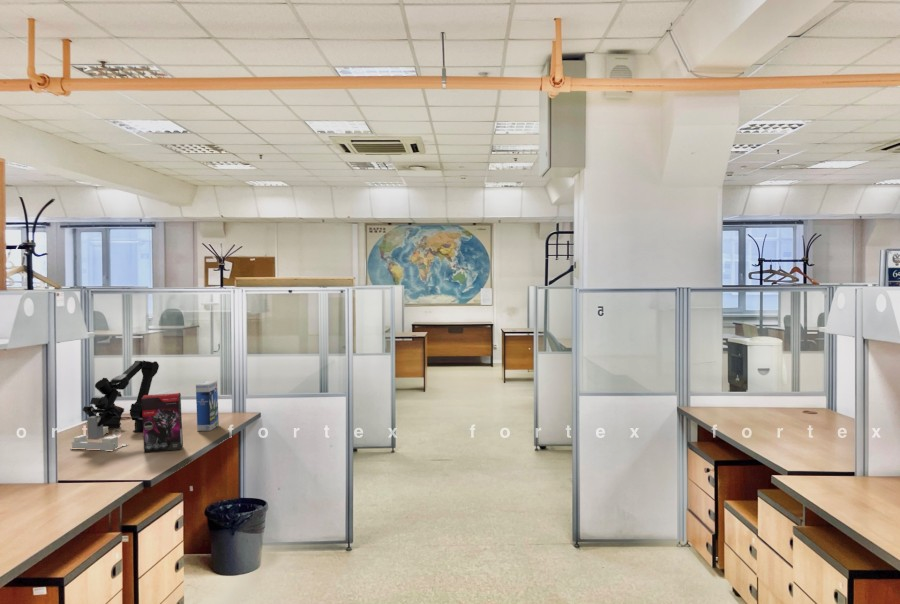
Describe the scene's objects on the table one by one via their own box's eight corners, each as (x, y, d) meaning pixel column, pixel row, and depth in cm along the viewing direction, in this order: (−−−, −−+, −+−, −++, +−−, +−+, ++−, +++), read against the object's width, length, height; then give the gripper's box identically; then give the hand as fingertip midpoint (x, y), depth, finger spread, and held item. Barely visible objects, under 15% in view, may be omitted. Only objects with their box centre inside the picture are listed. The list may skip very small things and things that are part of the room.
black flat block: (92, 426, 346) (104, 401, 348) (116, 434, 350) (128, 409, 351) (91, 427, 343) (103, 402, 344) (115, 435, 346) (127, 411, 348)
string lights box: (210, 431, 338) (208, 384, 336) (196, 431, 337) (194, 384, 336) (219, 425, 351) (217, 380, 350) (205, 425, 351) (204, 380, 350)
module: (94, 437, 311) (93, 415, 311) (103, 437, 310) (102, 415, 309) (88, 439, 307) (87, 417, 307) (97, 439, 306) (96, 417, 305)
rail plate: (89, 442, 317) (88, 432, 316) (128, 445, 311) (128, 434, 311) (69, 449, 305) (69, 438, 305) (110, 451, 300) (110, 440, 299)
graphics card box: (142, 453, 296) (140, 397, 295) (145, 449, 303) (143, 394, 301) (181, 450, 300) (179, 395, 299) (183, 446, 307) (181, 392, 306)
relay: (108, 433, 336) (108, 426, 336) (103, 435, 331) (103, 428, 331) (97, 433, 336) (97, 426, 336) (92, 435, 332) (92, 428, 331)
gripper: (84, 390, 313) (67, 416, 303) (115, 391, 309) (99, 418, 299) (97, 402, 321) (81, 428, 311) (127, 403, 317) (112, 429, 307)
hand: (93, 426), depth 307 cm, fingers closed on module, 5 cm apart
